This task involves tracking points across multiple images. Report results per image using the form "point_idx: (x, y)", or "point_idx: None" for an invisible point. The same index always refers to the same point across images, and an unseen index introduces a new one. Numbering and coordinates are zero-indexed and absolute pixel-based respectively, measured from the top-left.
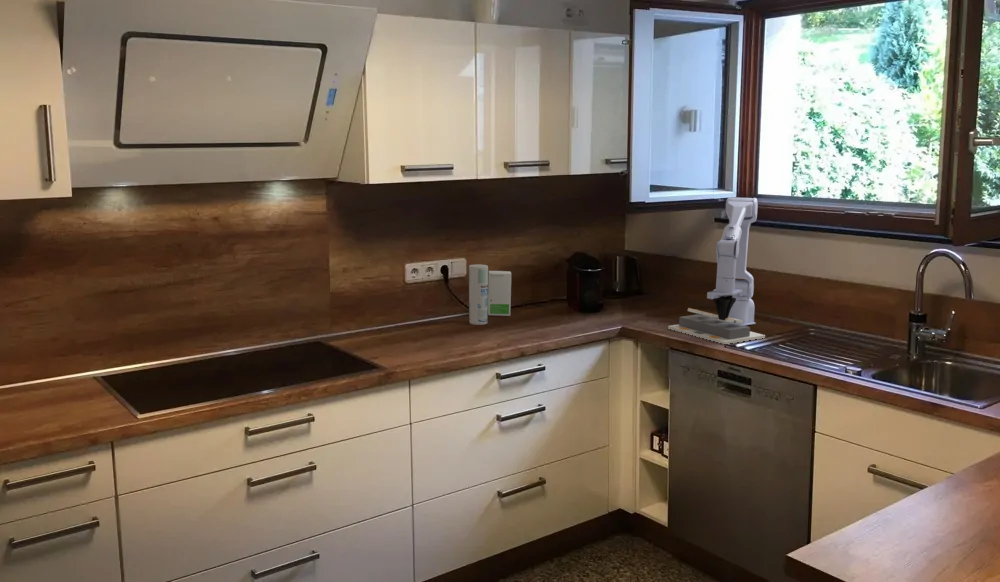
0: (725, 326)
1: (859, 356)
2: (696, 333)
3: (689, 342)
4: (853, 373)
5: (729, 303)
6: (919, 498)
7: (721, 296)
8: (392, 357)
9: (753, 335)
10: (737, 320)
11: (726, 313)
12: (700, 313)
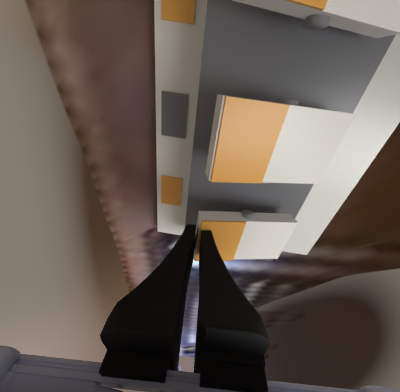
0: None
1: (271, 345)
2: (159, 115)
3: (88, 154)
4: (186, 350)
5: (196, 335)
6: None
7: (131, 385)
8: None
9: None
10: (249, 257)
11: (199, 268)
12: (286, 10)
